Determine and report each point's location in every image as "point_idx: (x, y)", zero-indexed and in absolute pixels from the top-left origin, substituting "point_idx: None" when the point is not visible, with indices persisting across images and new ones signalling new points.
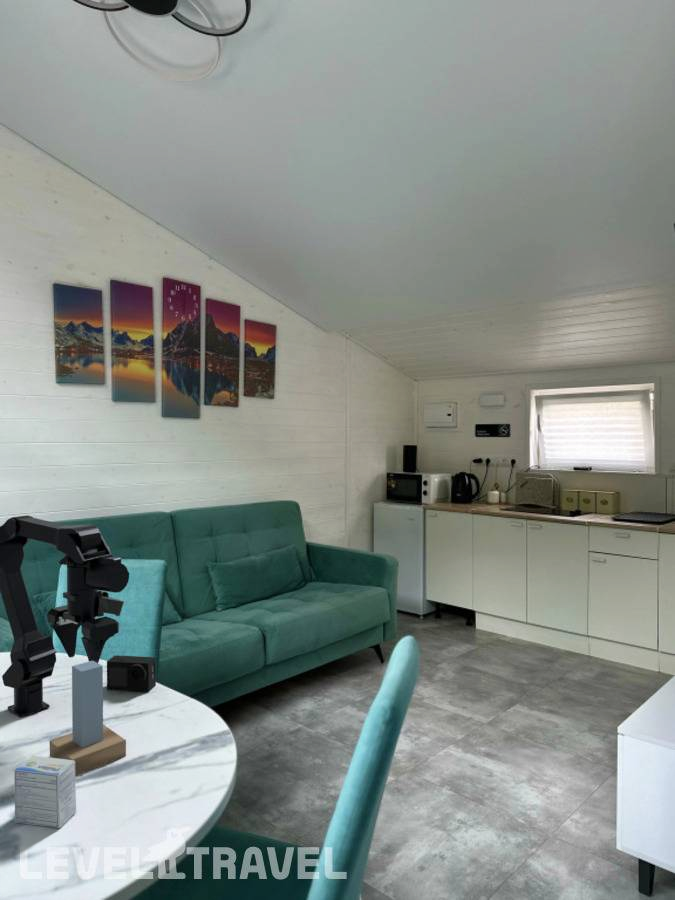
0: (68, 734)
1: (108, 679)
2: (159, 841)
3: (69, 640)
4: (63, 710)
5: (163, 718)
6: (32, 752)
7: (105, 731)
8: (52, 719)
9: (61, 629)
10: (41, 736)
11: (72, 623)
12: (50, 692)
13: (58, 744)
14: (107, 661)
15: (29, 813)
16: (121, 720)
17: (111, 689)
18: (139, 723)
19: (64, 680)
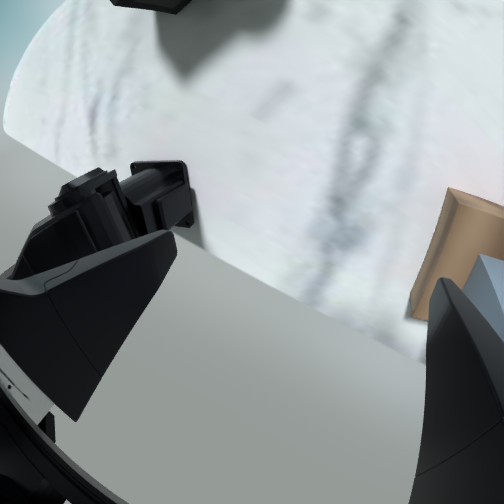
0: (429, 284)
1: (160, 7)
2: None
3: (109, 313)
4: (217, 144)
5: (479, 21)
6: (365, 297)
7: (499, 233)
8: (248, 187)
9: (74, 395)
10: (315, 250)
11: (15, 361)
12: (114, 124)
13: None
14: (116, 4)
15: None
16: (404, 82)
17: (184, 5)
18: (460, 72)
19: (83, 83)
